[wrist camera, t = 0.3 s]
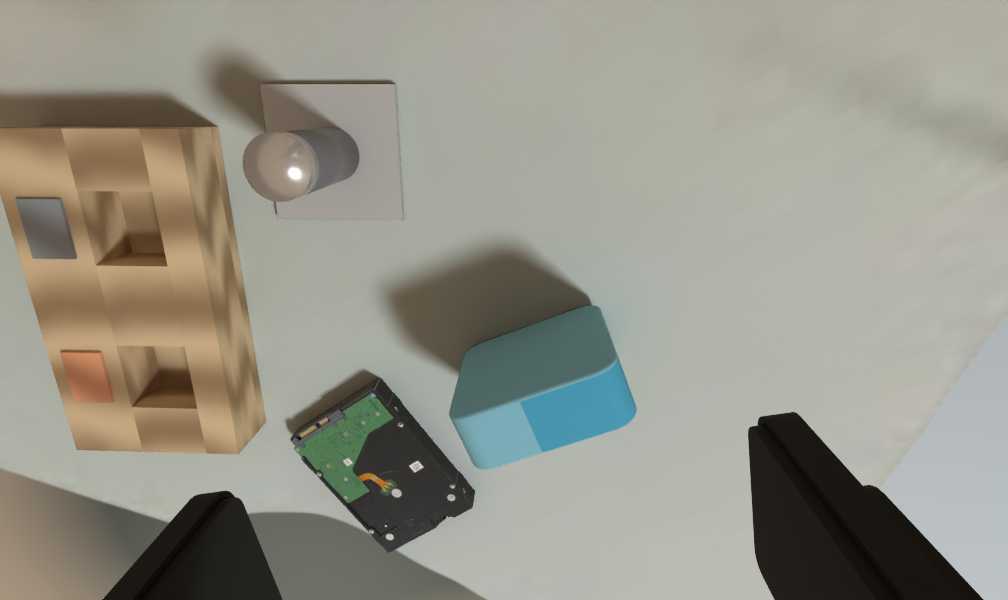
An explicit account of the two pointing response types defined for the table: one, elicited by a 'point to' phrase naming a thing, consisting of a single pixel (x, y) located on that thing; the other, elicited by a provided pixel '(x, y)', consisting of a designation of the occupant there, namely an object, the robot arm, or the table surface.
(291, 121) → the rubber mat
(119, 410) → the socket block
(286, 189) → the plug
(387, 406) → the disk drive
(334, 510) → the table surface
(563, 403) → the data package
